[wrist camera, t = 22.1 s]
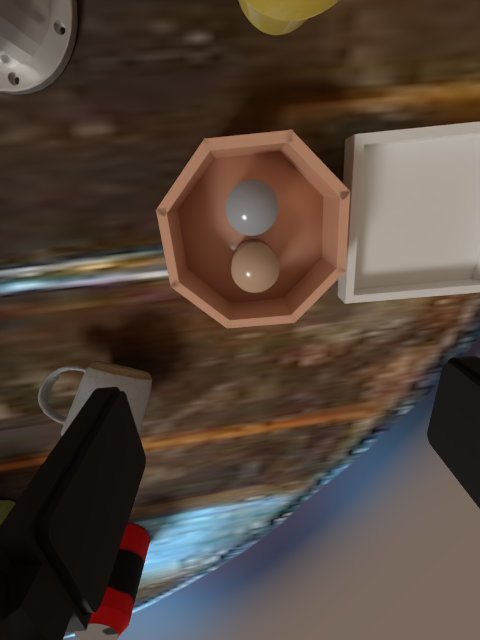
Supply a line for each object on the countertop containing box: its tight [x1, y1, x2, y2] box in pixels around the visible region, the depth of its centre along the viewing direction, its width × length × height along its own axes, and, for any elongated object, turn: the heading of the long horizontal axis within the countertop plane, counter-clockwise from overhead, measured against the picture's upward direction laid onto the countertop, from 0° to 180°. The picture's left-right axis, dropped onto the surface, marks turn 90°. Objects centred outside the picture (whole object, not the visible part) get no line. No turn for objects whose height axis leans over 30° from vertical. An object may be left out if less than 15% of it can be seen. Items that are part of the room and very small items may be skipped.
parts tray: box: [338, 122, 480, 304], centre depth 28 cm, size 15×15×2 cm
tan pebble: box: [231, 239, 280, 293], centre depth 28 cm, size 4×4×4 cm
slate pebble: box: [226, 180, 278, 236], centre depth 26 cm, size 4×4×4 cm
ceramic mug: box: [38, 361, 152, 436], centre depth 31 cm, size 11×8×8 cm
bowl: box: [156, 130, 350, 329], centre depth 27 cm, size 16×16×6 cm
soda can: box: [75, 523, 150, 640], centre depth 44 cm, size 8×8×12 cm
